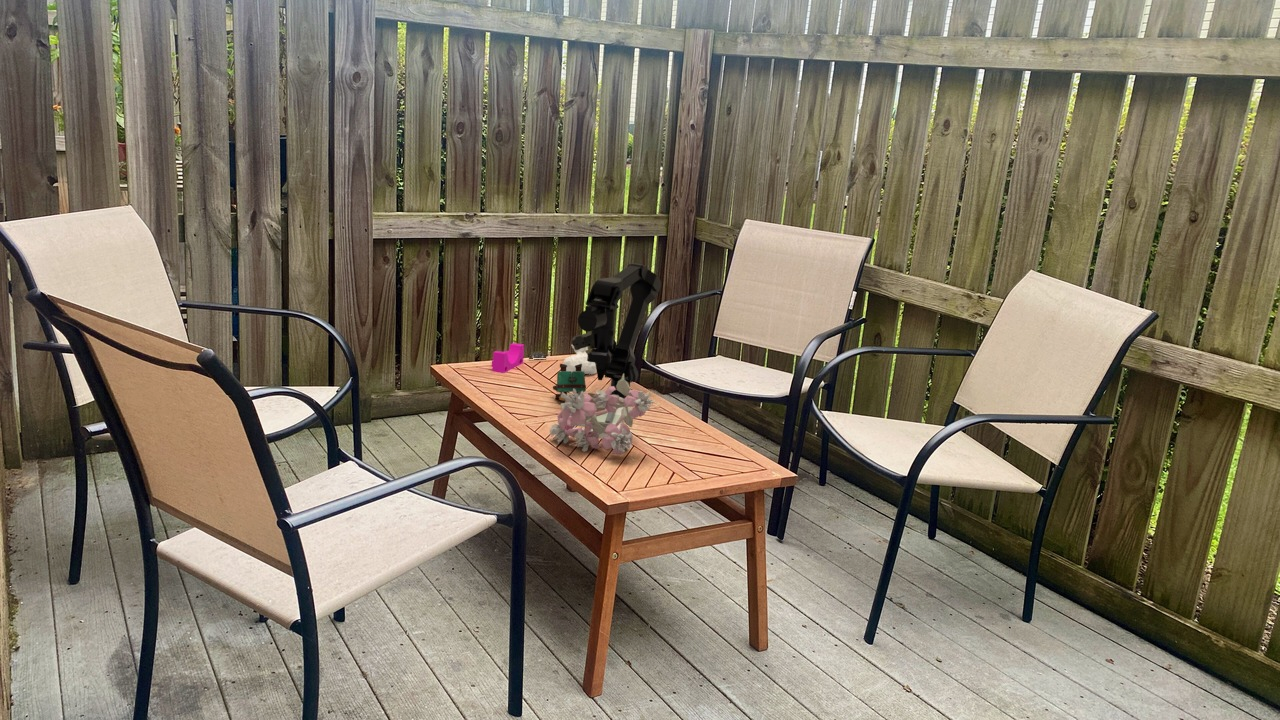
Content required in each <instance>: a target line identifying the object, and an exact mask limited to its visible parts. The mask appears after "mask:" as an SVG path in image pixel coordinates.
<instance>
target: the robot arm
mask: <svg viewBox="0 0 1280 720" xmlns="http://www.w3.org/2000/svg"><path fill="white" fill-rule="evenodd" d="M661 287H662V281H661V279H660V278H659V277H658V275H657V274H656V273H655V272H653V271H651V270H650V269H649V268H648V267H647V266H646V265H644V264H639V263H634V262H632V263H629V264H628V265H627V267H625V268H624V269H621V271H619V272H617V273H616V274H615V275H613V276H612V277H611V276H610V277H603V278H599V279H597V280H596V281H595V282H594V283H593V285H592V287H591V289H590V292H589V294H588V296H587V299H586V301H585V305H586V306H585V310H584V311H581V312H580V313H579V315H578V317H577V324H578V326H579V327H580V329H581V330H582V331H584V332H586V333H583V334H578V335H575V336H573V337H572V339H571V341H572V345H573V346H574V348H575V350H579V349H581V348H585V347H588V348H589V347H590V348H589V349H591V350H588V353H587V355H588V357H587V361H588V362H595V364H596V370H597V372H596V375H597V380H598V381H603V379H604V378H607V379H610V387H611V386H614V387H615V389H616V390H614V391H613V392H612V393H611V394H610V395H619V397H621V398H624V399H625V398H626V396H625V395H623V394H622V393H621V392H619V391H618V390H617V388H616V385H617V383H618V381H619V380H621V378H622V376H623V374H624V380H625V381H626V382H628V384H629V387H630V388H631V383H637V380H638V377H639V371H638V369H637V367H636V364H635V363H636V357H635V353H634V348H635V345H636V343H637V342H636V341H637V339H638V336H639V333H640V329H641V326H642V324H643V321H644V317H645V314H646V311H647V308H648V306H649V304H651V303H652V302H653V301H654V300H655V299H656V298H657V296H658V293H659V292H660V291H661ZM628 288H629V290H630V294H631V302H630V306H629V309H628V312H627V315H626V317H625V319H624V323H623V326H622V329H621V333H620V334H619V335H620V336H619V338H618V340H617V341H618V342H617V341H616V340H615V339H614V337H615V332H616V328H615V324H616V323H615V322H616V312H617V311H616V310H617V309H618V308H619V305H618V303H619V301H620V299H622V298H623V292H624V291H625V290H627V289H628ZM574 348H573V349H574Z"/></svg>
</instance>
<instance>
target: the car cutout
mask: <svg viewBox="0 0 1280 720" xmlns="http://www.w3.org/2000/svg"><path fill="white" fill-rule="evenodd" d="M533 358H546V359H534V360H530V361H531V362H533V361H545V360H547V354H544V353H543V351H540V350H539V351H534V352H533V354H530V355H529V357H528V360H529V359H533Z"/></svg>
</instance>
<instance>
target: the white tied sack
mask: <svg viewBox="0 0 1280 720" xmlns="http://www.w3.org/2000/svg"><path fill="white" fill-rule="evenodd" d="M571 348H572V349H573V351H574V352H575V354H574V355H573V354H572V355H570V356H568V357H566V358H564V359H563V362H562V364H565V365H567V367H566V371H571V372H573V371H576V368H575V366H576V365H579V364H582V367H581V371H584V374H589V375H588V376H590V374H591V375H595V374H597V370H596V364H595V362H588V361H587V357H588V353H587V351H589V347H585V348H581V349H579V350H575V348H574V346H573V344H571Z"/></svg>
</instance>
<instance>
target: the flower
mask: <svg viewBox="0 0 1280 720" xmlns="http://www.w3.org/2000/svg"><path fill="white" fill-rule="evenodd" d="M616 388H617V390H618V391H619V392H621V393H622V394H623V395H625V396H626V398H625V399H624V398H621V397H619V396H616V395H610V394H611V393H612V392H613V391H614V390H616V389H615V387H614V386H611V385H610V386H608V387H607V388H606V389H605V390H603V389H600V390H597V391H594V392H595V393H594V394H595V395H596V394H597V396H595V397H596V398H592V397H591V396H590V395H588V393H585V392H583V391H582V392H581V394H580V395H578V394H577V392H576V390H575V389H574V388H573V392H567V395H566V394H565V393H563V392H562V394H561V398H564V399H566V400H565V401H564V403H563V402H561V403H560V407H561V411H560V412H559V413H558V414H557V423H554V424H552V425H551V427H550V428H549V436H550V437H553V438H552V439H551V440H550V441H551V442H552V441H554V440H556V442H557V444H558V445H559V444H560V443H561V442H562V443H563V444H569V446H572V445H573V444H575V445H576V447H577V448H579V447H581V451H582V452H588V450H589V446H591V448H592V449H594V450H600V448H601V447H602V448H603V449H605V450H609V449H611V448H612V452H611V454H612V455H619V456H620V455H623V453H625V452H626V451H628V450H630V448H632V447H633V438H634V435H633V433H632V432H631V429H630V428H633V422H634V419H636V418H639V417H642V416H645V414H646V411H650V410H652V408H651V406H653V403H655V400H654V399H651V398H650V397H652V394H651V393H650V392H646V393H645V391H644V390H638V389H631V386H630V387H629V384H628V382H626V381H625V380H624V374H623V376H622V378H621V380H619V381H618V383H617V385H616ZM573 395H574V396H573ZM593 396H594V395H593ZM592 401H594V402H595V403H596V402H597V403H596V404H595V403H591V402H592ZM621 407H623V409H622V411H621V417H620V418H619V420H618V421H617V423H616V424H611V423H599V422H598V421H597V416H600V415H603V414H606V413H609V412H614V411H615V410H616V409H618V408H621ZM632 407H633V408H632ZM597 408H605V410H602V411H599V412H596V410H597ZM571 413H572V416H570V414H571ZM622 420H623V422H624V423H621V422H622ZM620 423H621V424H620ZM558 424H559V425H558ZM583 424H585V427H584V432H585V434H584V433H582V432H583V429H582V428H583V427H576V426H575V425H583ZM619 424H620V425H621V429H620V431H619V429H618V427H617V426H618V425H619ZM572 428H576V429H572ZM592 429H593V431H592V432H590V431H591V430H592ZM602 433H606V434H607V435H609V436H610V437H603V439H601V440H600V438H598V437H599V435H600V434H602ZM570 438H573V440H577V441H575V442H572V443H568V442H569V441H570ZM600 442H601V444H599V443H600Z"/></svg>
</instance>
